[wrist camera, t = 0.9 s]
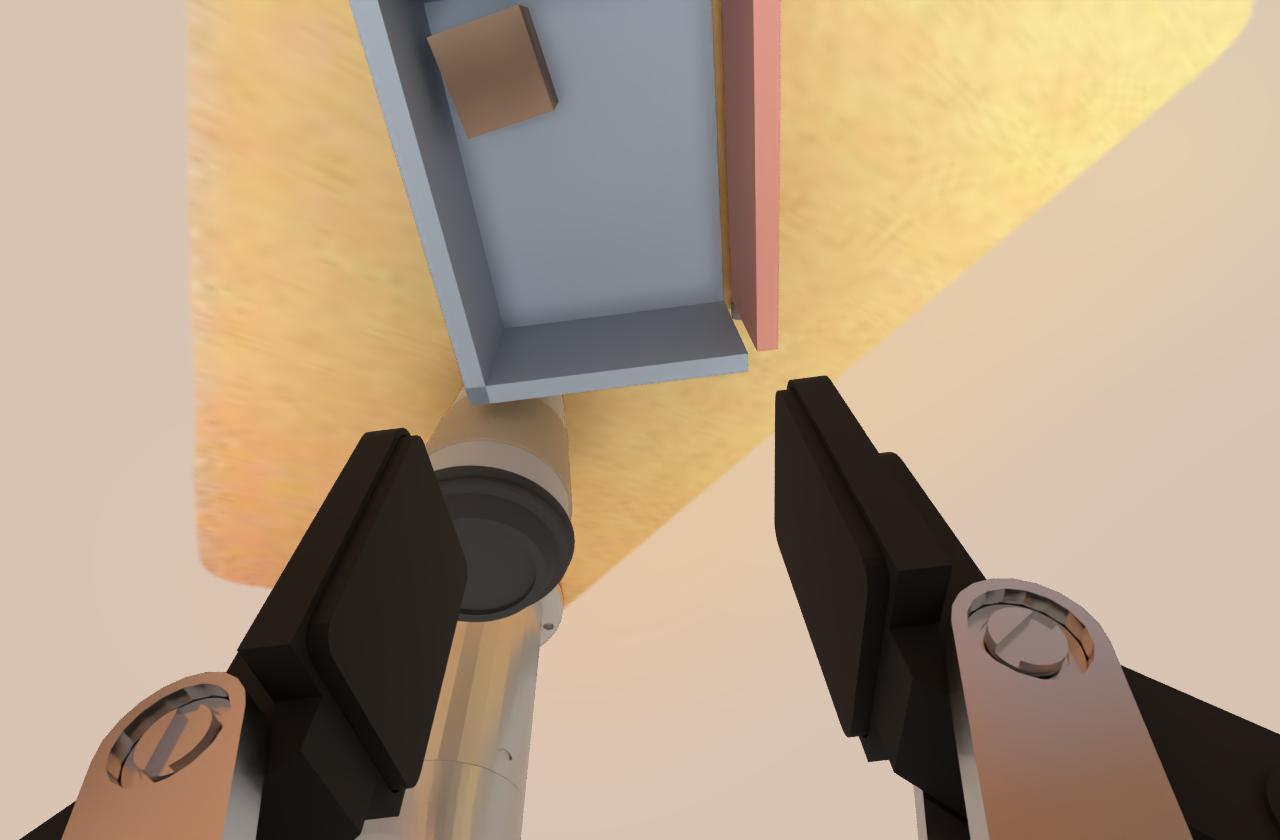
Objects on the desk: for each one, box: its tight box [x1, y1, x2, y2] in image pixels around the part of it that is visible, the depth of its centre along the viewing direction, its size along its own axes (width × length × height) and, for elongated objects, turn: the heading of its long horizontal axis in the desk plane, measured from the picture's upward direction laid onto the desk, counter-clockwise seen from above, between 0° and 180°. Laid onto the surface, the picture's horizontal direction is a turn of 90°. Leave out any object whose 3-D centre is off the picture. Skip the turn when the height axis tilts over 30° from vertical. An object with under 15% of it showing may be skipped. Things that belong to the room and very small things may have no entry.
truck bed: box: [349, 0, 748, 406], centre depth 30 cm, size 18×15×8 cm
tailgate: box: [721, 0, 781, 351], centre depth 29 cm, size 16×1×7 cm, turn 6°
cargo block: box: [427, 5, 559, 139], centre depth 28 cm, size 4×4×4 cm
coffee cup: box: [425, 385, 575, 622], centre depth 34 cm, size 9×9×15 cm
